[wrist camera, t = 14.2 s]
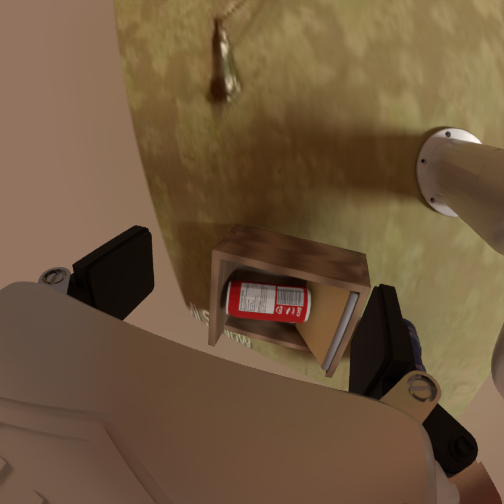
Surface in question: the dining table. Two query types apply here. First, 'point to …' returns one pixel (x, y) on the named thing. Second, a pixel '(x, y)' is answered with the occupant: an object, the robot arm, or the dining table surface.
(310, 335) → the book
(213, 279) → the open wooden box
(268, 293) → the soda can
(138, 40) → the dining table surface
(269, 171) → the dining table surface
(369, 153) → the dining table surface
